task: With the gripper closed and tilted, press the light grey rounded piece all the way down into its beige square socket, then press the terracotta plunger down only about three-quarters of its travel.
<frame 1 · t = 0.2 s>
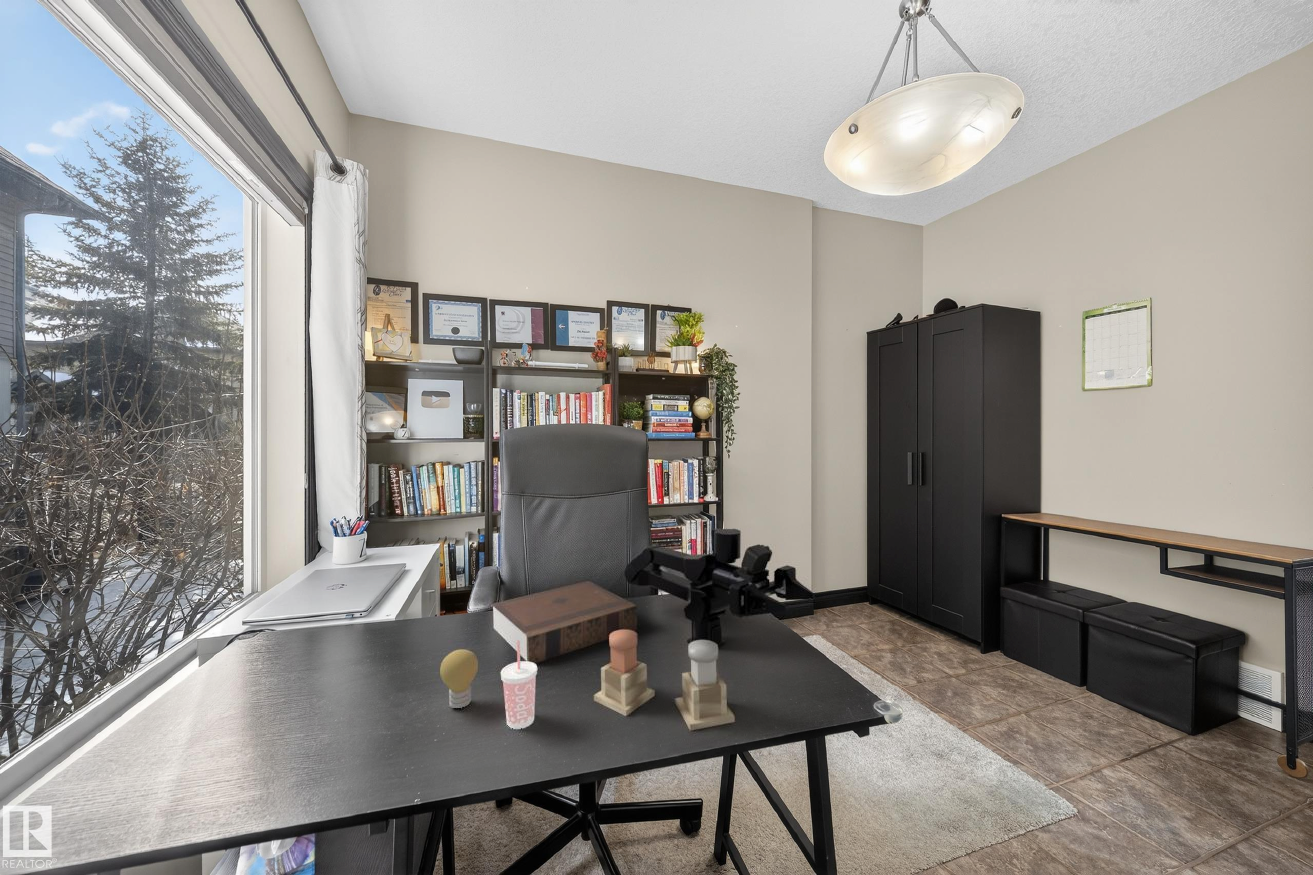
hand: (800, 602, 92), 17 cm above the table, fingers open, 9 cm apart
terracotta plunger: (623, 652, 90), point 9 cm above the table, slide at 0.0 cm
book: (563, 631, 121), on the table
beverage cup: (520, 721, 84), on the table
cream square holder: (624, 697, 90), on the table
light bulb: (460, 706, 89), on the table
light grey rounded piece: (703, 664, 85), point 9 cm above the table, slide at 0.0 cm
beige square socket: (704, 712, 85), on the table
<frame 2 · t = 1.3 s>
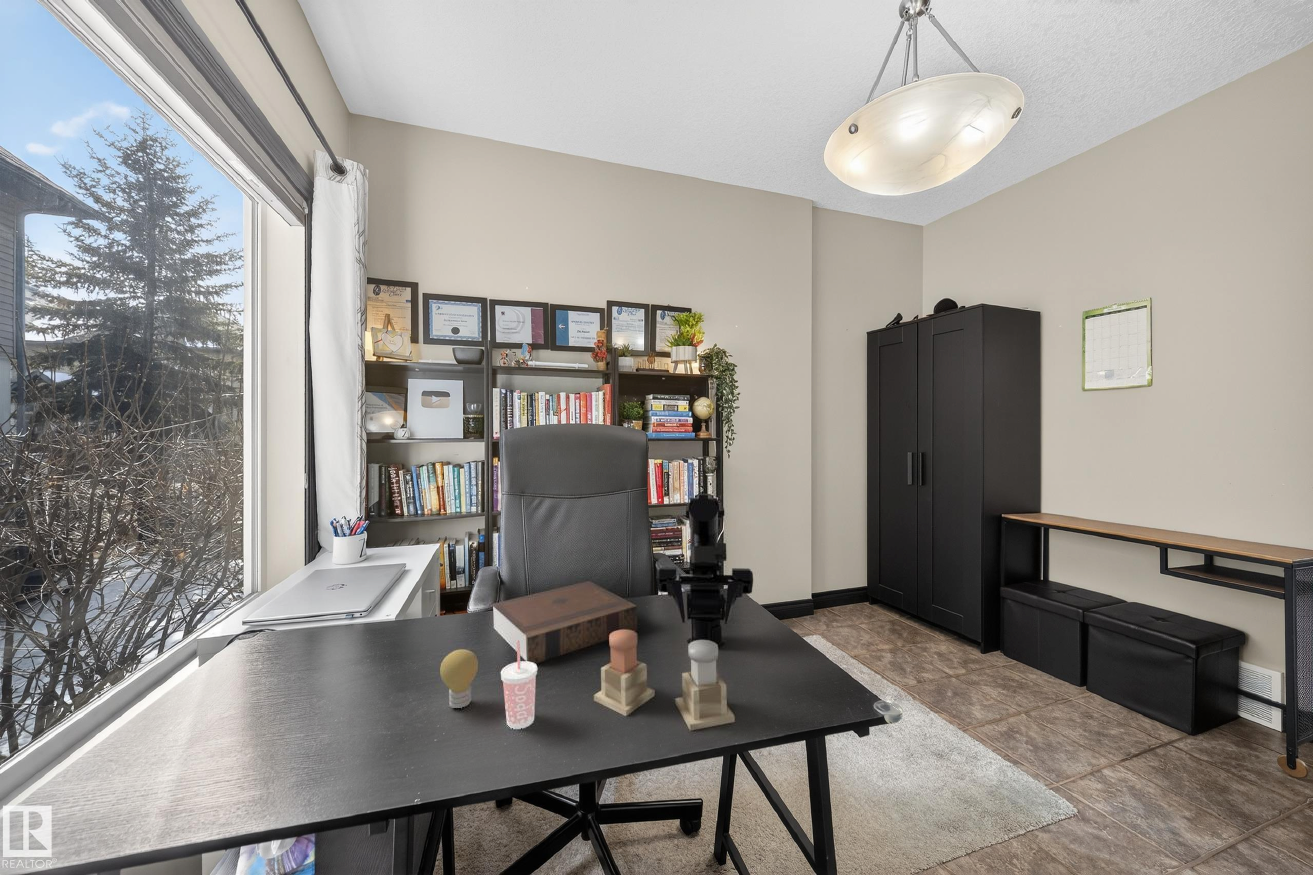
hand: (704, 622, 90), 14 cm above the table, fingers open, 8 cm apart
nothing on the table moved.
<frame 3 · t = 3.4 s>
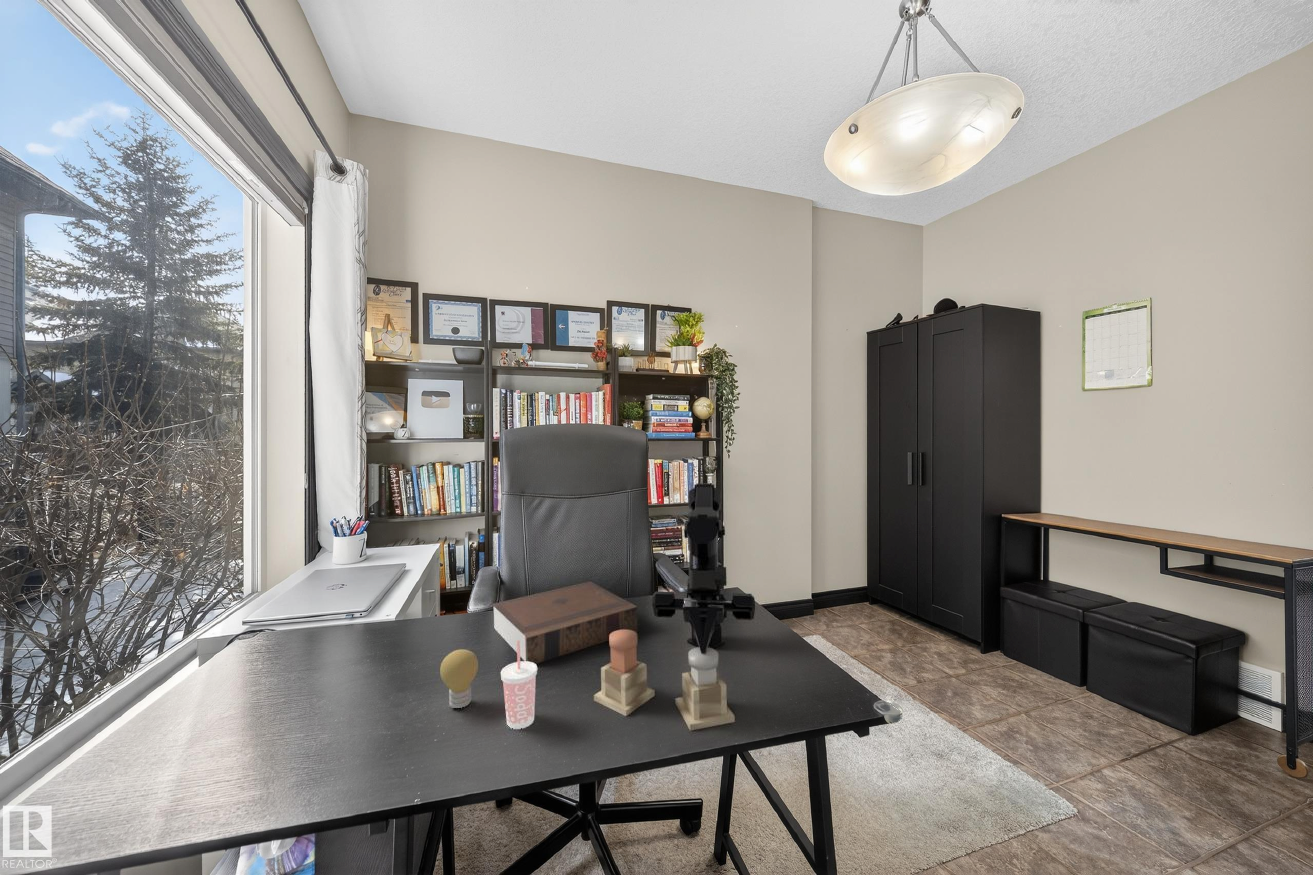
hand: (703, 652, 84), 11 cm above the table, fingers closed, pressing on light grey rounded piece
light grey rounded piece: (703, 671, 85), point 7 cm above the table, slide at 1.3 cm, touching gripper
everything else where it was.
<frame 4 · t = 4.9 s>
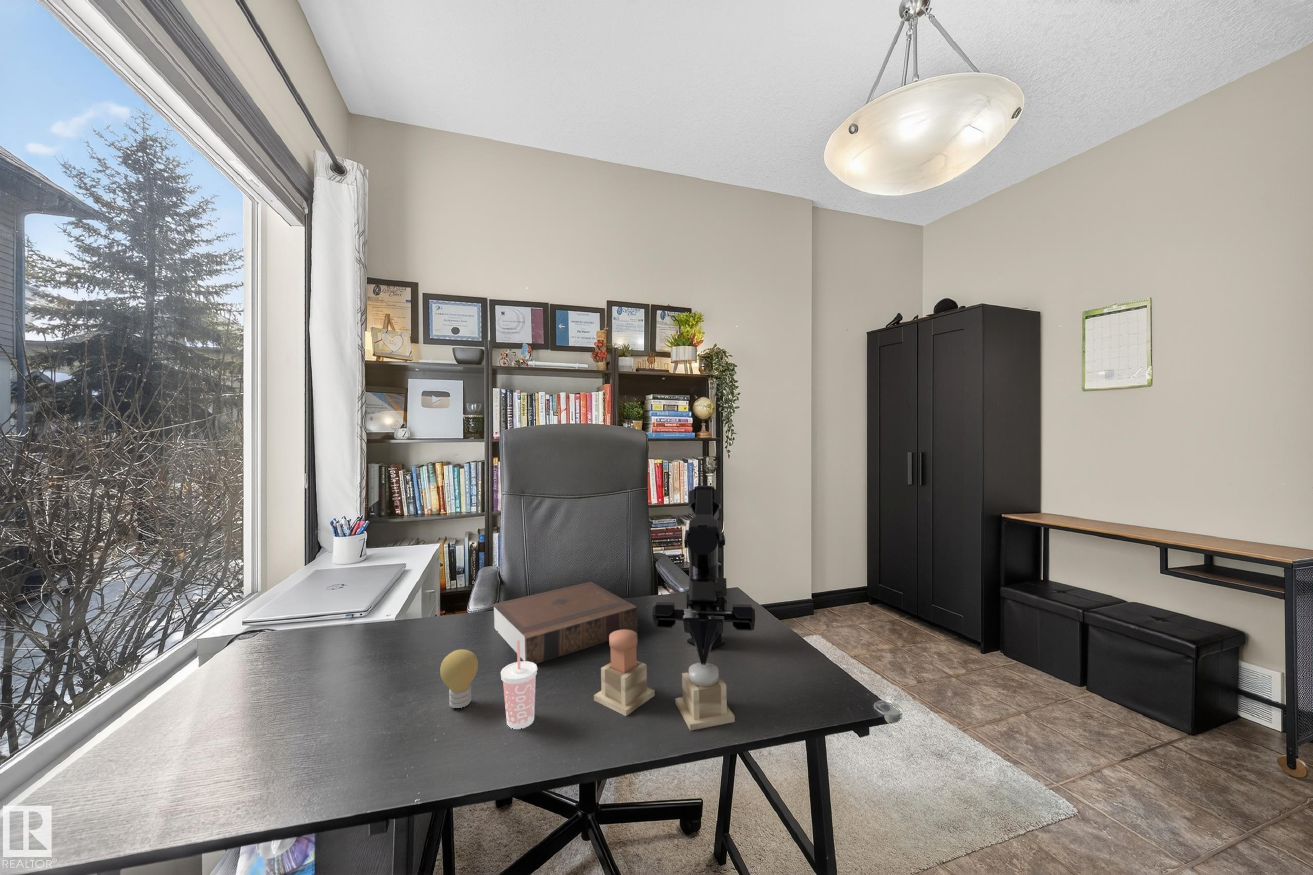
hand: (703, 664, 84), 9 cm above the table, fingers closed
light grey rounded piece: (703, 687, 85), point 4 cm above the table, slide at 4.2 cm
everything else where it was.
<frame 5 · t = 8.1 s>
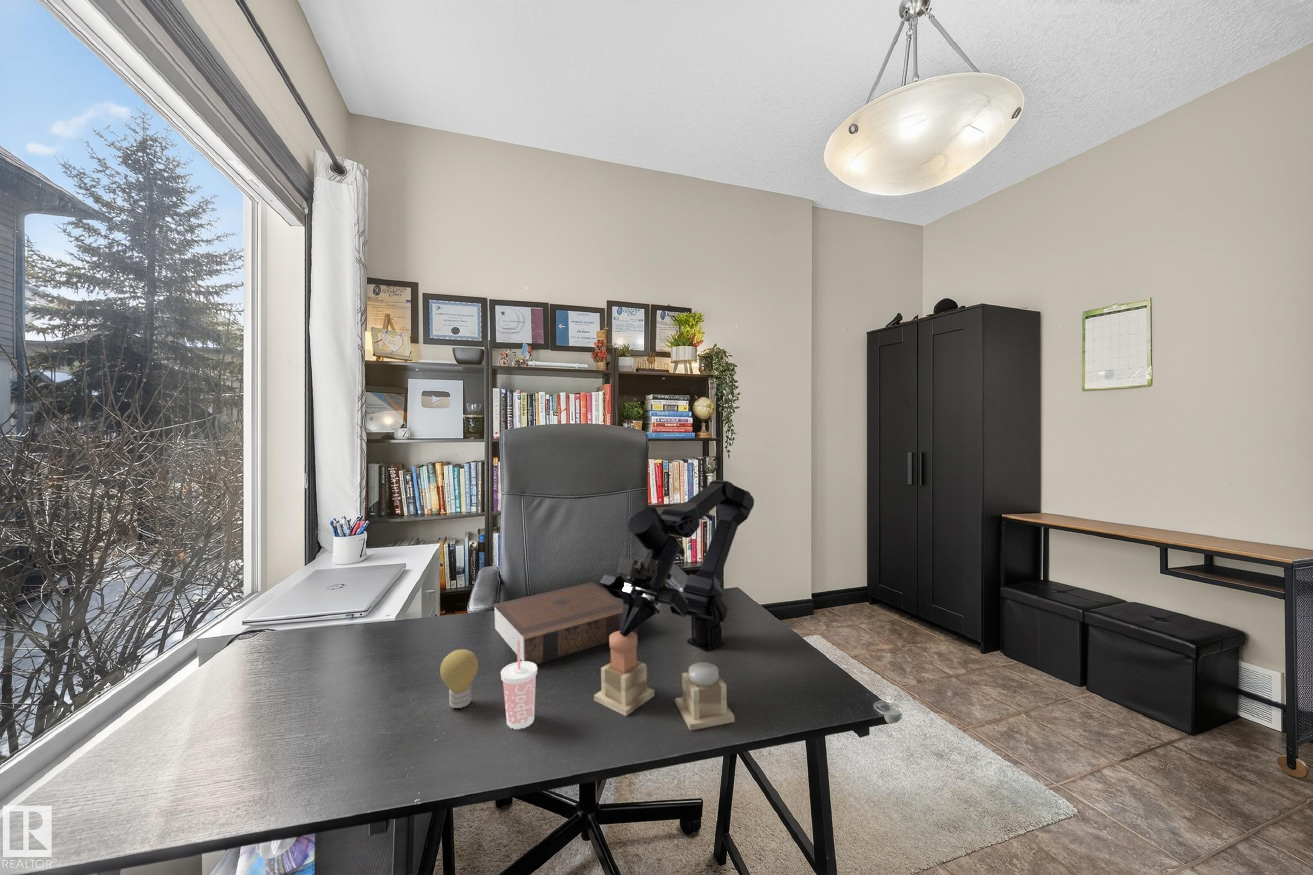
hand: (622, 635, 89), 12 cm above the table, fingers closed, pressing on terracotta plunger
terracotta plunger: (623, 653, 90), point 8 cm above the table, slide at 0.2 cm, touching gripper
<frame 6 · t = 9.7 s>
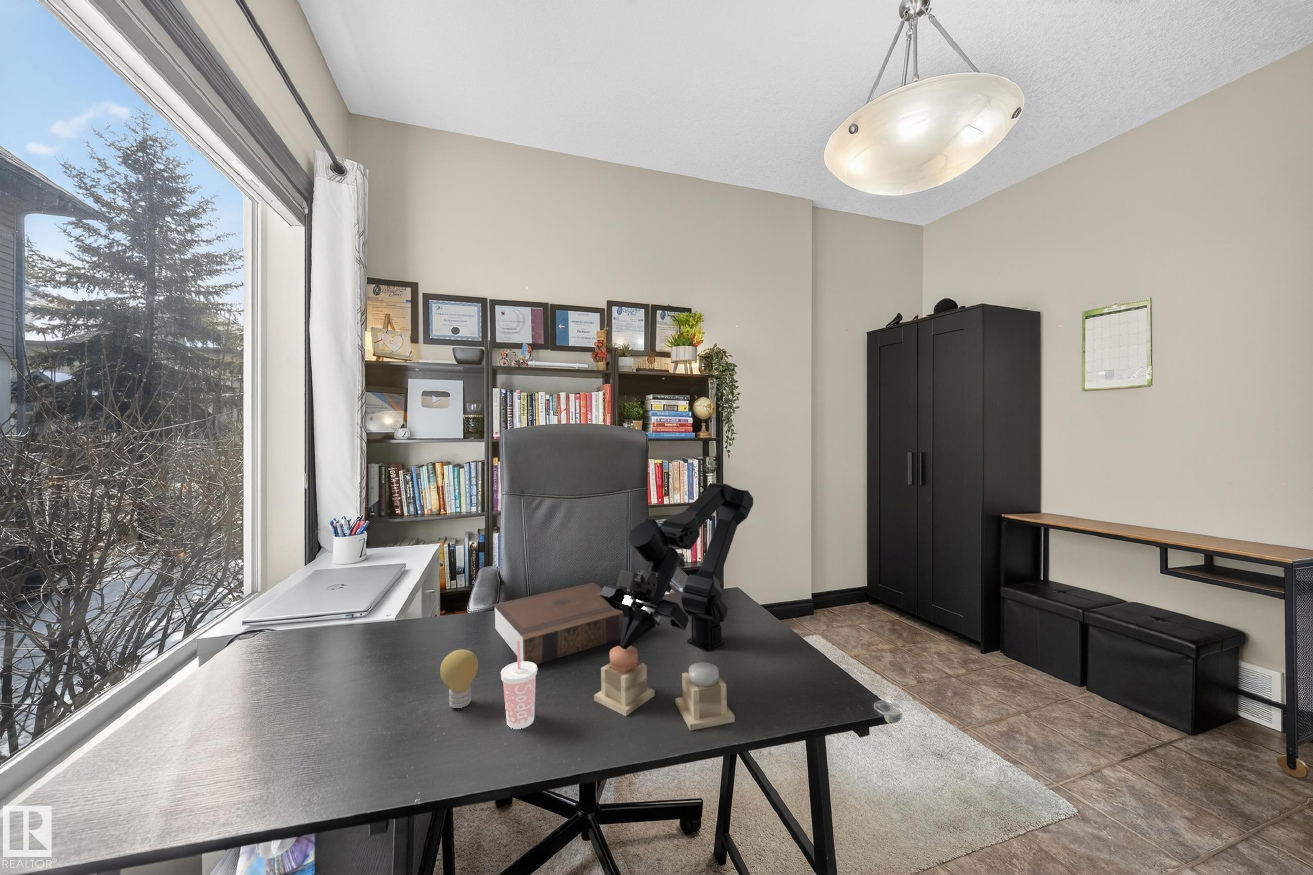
hand: (622, 648, 89), 10 cm above the table, fingers closed
terracotta plunger: (623, 668, 90), point 6 cm above the table, slide at 3.0 cm
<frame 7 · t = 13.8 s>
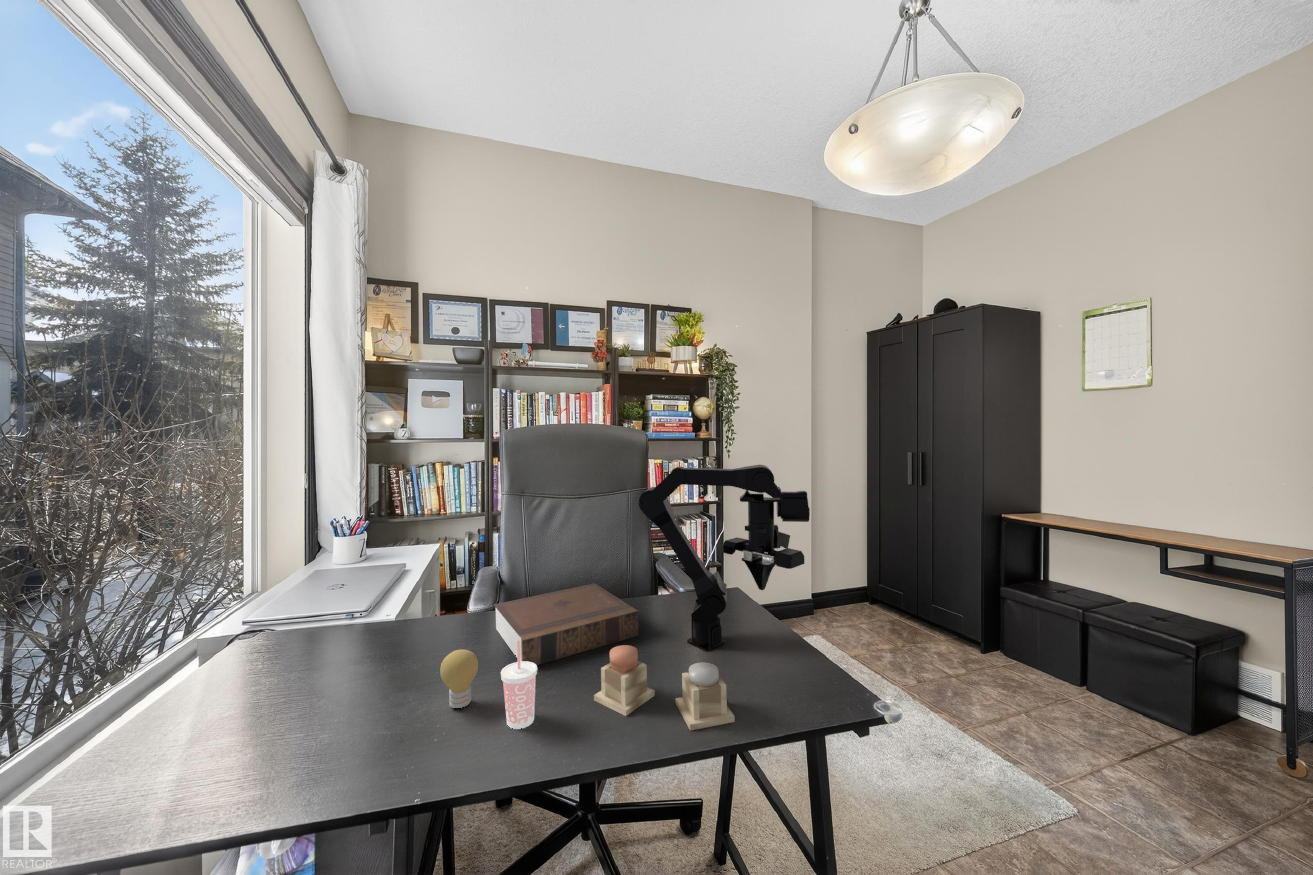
hand: (761, 589, 109), 13 cm above the table, fingers closed
at the end: light grey rounded piece slide at 4.2 cm; terracotta plunger slide at 3.0 cm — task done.
